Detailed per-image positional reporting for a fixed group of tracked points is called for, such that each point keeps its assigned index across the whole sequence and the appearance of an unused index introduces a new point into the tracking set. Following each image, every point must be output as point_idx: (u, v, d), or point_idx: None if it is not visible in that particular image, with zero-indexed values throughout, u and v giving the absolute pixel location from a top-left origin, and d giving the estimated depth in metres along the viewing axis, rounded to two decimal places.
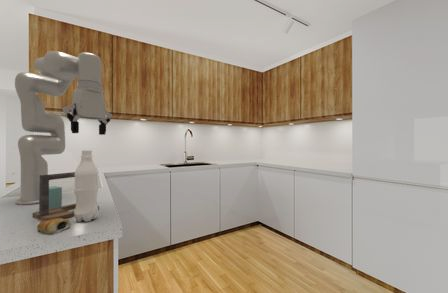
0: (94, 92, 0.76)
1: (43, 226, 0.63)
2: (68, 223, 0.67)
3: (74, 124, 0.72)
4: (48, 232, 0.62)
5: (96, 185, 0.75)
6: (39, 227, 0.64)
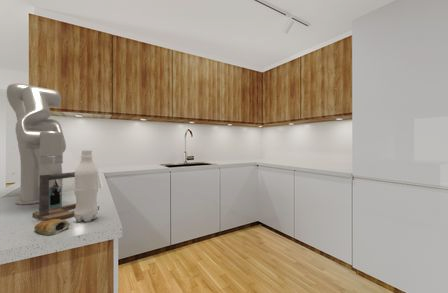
0: None
1: (41, 227, 0.62)
2: (67, 224, 0.66)
3: None
4: (47, 233, 0.62)
5: (96, 185, 0.75)
6: (37, 228, 0.63)
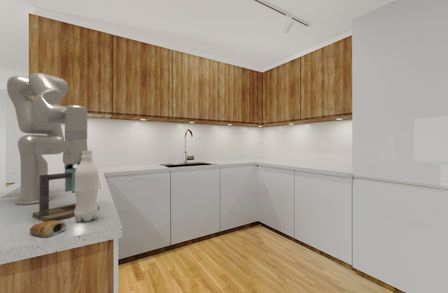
0: None
1: (38, 229, 0.61)
2: (64, 225, 0.65)
3: None
4: (44, 235, 0.60)
5: (96, 185, 0.75)
6: (33, 230, 0.61)
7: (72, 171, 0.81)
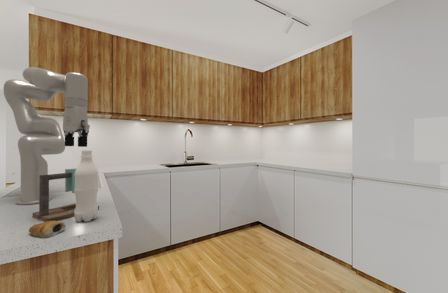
0: None
1: (37, 229, 0.61)
2: (63, 225, 0.65)
3: None
4: (43, 235, 0.60)
5: (96, 185, 0.75)
6: (32, 231, 0.61)
7: (72, 171, 0.81)
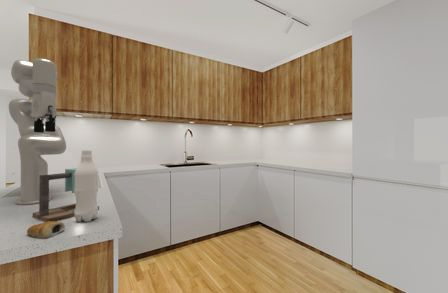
0: None
1: (36, 230, 0.60)
2: (62, 226, 0.64)
3: None
4: (43, 236, 0.60)
5: (96, 185, 0.75)
6: (31, 232, 0.60)
7: (72, 171, 0.81)
